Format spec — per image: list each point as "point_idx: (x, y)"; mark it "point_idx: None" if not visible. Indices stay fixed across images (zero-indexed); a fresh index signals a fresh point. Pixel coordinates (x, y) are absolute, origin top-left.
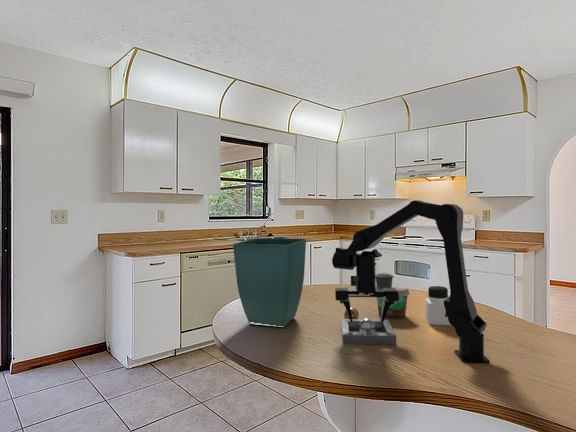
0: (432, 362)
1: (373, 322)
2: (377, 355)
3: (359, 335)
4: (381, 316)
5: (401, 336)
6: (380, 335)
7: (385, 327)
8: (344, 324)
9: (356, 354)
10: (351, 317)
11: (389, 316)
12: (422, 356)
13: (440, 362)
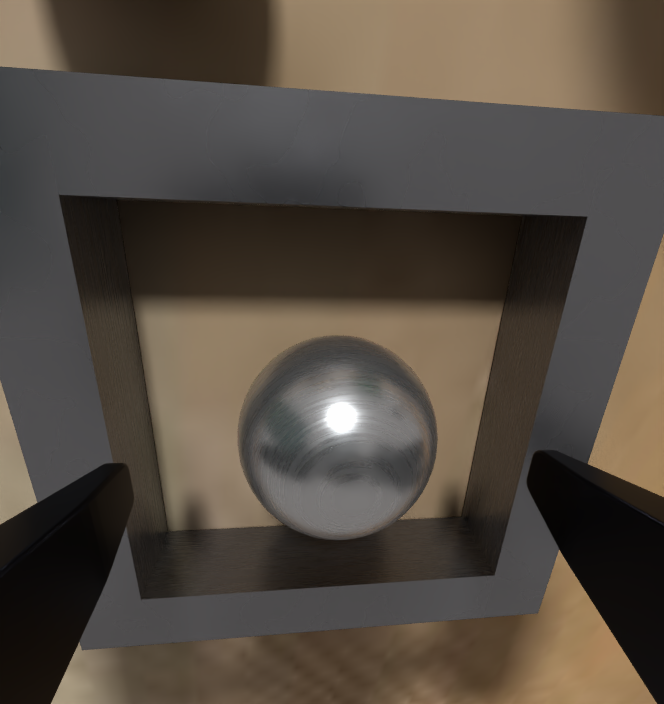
0: (581, 697)
1: (427, 482)
2: (344, 681)
3: (240, 636)
4: (586, 537)
5: (610, 400)
6: (419, 619)
7: (534, 437)
8: (39, 369)
9: (225, 689)
10: (90, 596)
11: None
12: (572, 657)
13: (615, 692)
